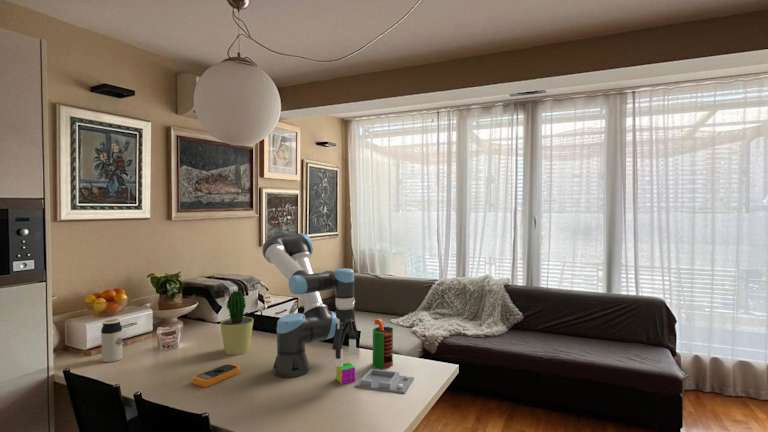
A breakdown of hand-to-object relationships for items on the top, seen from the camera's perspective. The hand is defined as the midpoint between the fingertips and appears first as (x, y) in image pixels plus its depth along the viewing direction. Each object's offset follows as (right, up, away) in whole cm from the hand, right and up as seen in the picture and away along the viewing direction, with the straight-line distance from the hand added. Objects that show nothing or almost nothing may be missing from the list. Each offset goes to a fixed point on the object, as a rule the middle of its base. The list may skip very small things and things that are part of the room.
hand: (346, 360), depth 172 cm
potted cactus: (-56, -8, +36) cm, 67 cm away
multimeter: (-53, -9, +3) cm, 54 cm away
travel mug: (-110, -8, +25) cm, 113 cm away
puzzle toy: (0, -8, +1) cm, 8 cm away
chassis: (+16, -8, -3) cm, 18 cm away
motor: (+15, -8, +17) cm, 23 cm away
